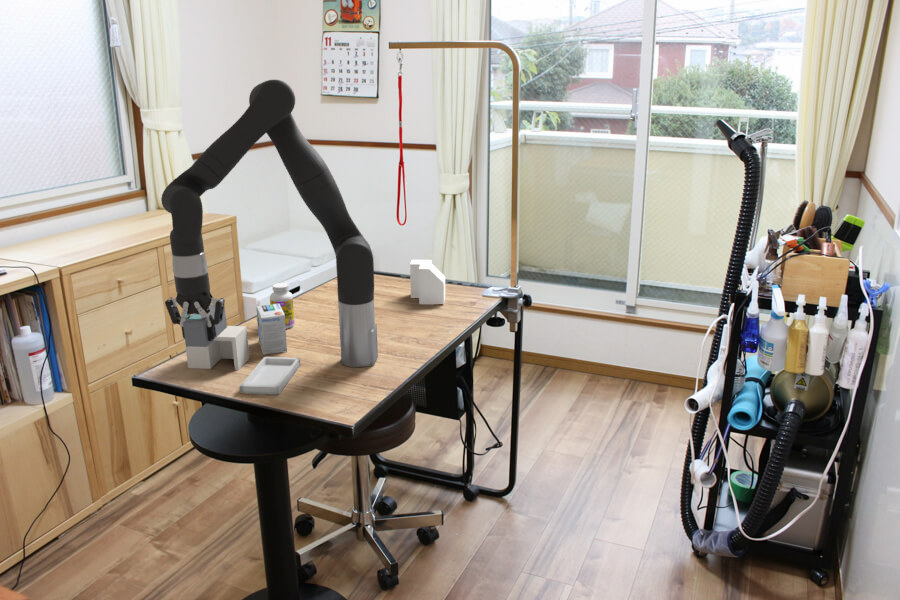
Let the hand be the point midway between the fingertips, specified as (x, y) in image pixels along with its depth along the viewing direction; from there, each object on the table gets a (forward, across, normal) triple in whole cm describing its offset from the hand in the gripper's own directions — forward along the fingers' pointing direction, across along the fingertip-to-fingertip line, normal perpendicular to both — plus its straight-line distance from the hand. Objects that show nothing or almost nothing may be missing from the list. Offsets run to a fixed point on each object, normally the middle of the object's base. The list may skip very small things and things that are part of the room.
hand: (199, 339), depth 177 cm
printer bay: (+13, +3, -16) cm, 20 cm away
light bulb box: (+13, -8, -28) cm, 32 cm away
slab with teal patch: (+1, 0, -4) cm, 4 cm away
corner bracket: (+14, -46, -73) cm, 87 cm away
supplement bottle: (+13, -6, -44) cm, 46 cm away
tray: (+13, -14, -7) cm, 20 cm away
